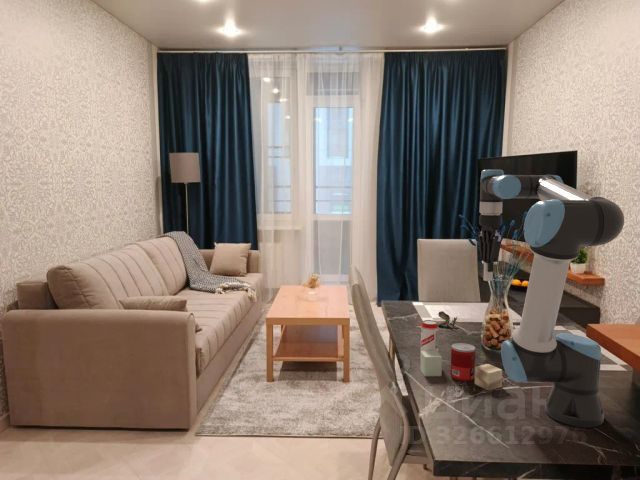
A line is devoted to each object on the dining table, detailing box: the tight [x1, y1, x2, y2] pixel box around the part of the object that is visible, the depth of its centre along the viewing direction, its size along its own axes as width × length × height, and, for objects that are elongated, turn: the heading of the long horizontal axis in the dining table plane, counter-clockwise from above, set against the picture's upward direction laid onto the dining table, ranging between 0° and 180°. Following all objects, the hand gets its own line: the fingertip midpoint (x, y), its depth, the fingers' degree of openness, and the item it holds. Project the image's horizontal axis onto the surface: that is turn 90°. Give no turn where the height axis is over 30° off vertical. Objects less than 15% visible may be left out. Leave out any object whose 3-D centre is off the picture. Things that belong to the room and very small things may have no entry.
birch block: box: [474, 363, 503, 392], centre depth 162 cm, size 6×6×6 cm
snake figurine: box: [437, 310, 458, 328], centre depth 227 cm, size 8×7×9 cm
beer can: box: [419, 319, 440, 362], centre depth 180 cm, size 6×6×16 cm
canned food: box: [450, 342, 476, 382], centre depth 168 cm, size 8×8×11 cm
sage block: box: [419, 350, 443, 377], centre depth 172 cm, size 6×6×7 cm
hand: (487, 280), depth 173 cm, fingers closed
